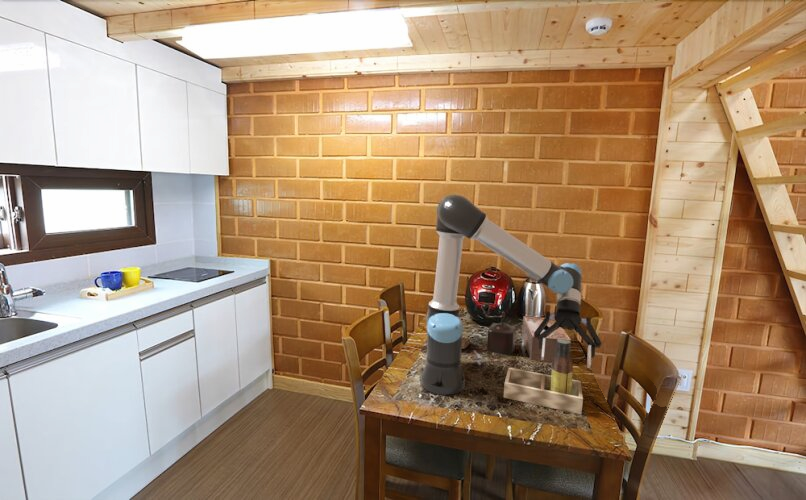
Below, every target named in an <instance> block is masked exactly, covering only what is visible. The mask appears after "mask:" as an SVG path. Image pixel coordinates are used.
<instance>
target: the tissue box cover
mask: <svg viewBox="0 0 806 500" xmlns="http://www.w3.org/2000/svg"><path fill="white" fill-rule="evenodd" d="M522 317H523V318H522V331H521V337H522V340H523V343H524V345H525V348H526V350H527V353H528V356H529V359H530V360H531V361H537V362H546V363H547V362H548V363H553V360H554V358H555V356H556V353H557V340H558V339H567V340H569V341H570V342H571V343H572V339H571V337H569V335H568V333H567V332H566V329H562V328H561V327H559V328H558V329H556V330H555V331H554V332H552V333H551V334H550V335H549V336H547V337H546V339H545V350H544V360H541V356H542V349H539V339H538V338H535V337H534V332H535V331H536V329H537V328H538V327H539V325H540V324H541V323H542V321H543V320H544V319H545V317H540V316H538V317H537V316H527V315H526V316H525V315H524V316H522ZM555 322H556V321H555V319H554V318H553V319H552V320H549V322H548V324H547V325H546V326H545V328H544V329H543V330H542V332H541V333H540V334H542V333H543V332H544V331H545V330H547V329H548V328H549V327H550V326H552V325H553V324H554V323H555ZM571 346H572V345H571ZM571 346H570V348H571ZM569 353H570V354H571V351H570V352H569Z"/></svg>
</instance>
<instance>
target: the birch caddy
mask: <svg viewBox="0 0 806 500" xmlns="http://www.w3.org/2000/svg"><path fill="white" fill-rule="evenodd" d="M551 375H552V374H545V373H539V372H536V371H534V372H533V371H530V370H523V369H518V368H514V367H508V369H507V373H506V376H505V381H504V385H503V386H504V387H503V399H509V400H514V401H517V402H524V403H527V404H533V405H536V406H541V407H545V408H550V409H554V410H559V411H563V412H569V413H573V414H579V415H582V412H583V411H582V410H583V402H584V398H583V390H582V382H581V380H576V379H574V378H572V395H568V394H563V393H558V392H553V391H551Z"/></svg>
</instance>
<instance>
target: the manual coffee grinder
mask: <svg viewBox="0 0 806 500" xmlns="http://www.w3.org/2000/svg"><path fill="white" fill-rule="evenodd" d="M490 307H491V305H490V304H489V303H487V302H485V303H482V304H481V309H482V311H483V315H485V317H486V318H488V319H500V318H501V321H500V322H498V323H496V322H492V324H491V325H490V326H489V328H488V330H487V346H486V351H487V352H489V353H495V354H499V355H505V356H512V355H513V353H514V351H515V349H516V346H515V344H516V334H517V332H516V331H517V326H514V325H510V324H509V323H506V321H505V317H506V315H505V314H506V313H505V311H501V315H489V314H490V313H491V312H490Z"/></svg>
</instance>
